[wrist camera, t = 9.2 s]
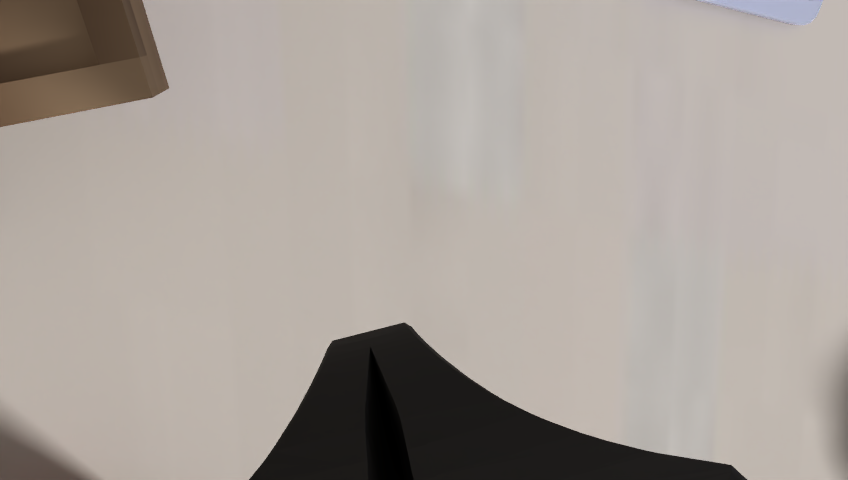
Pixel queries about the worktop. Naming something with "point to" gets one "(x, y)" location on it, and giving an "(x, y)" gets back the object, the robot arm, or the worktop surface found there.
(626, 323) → the worktop surface
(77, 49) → the beam
